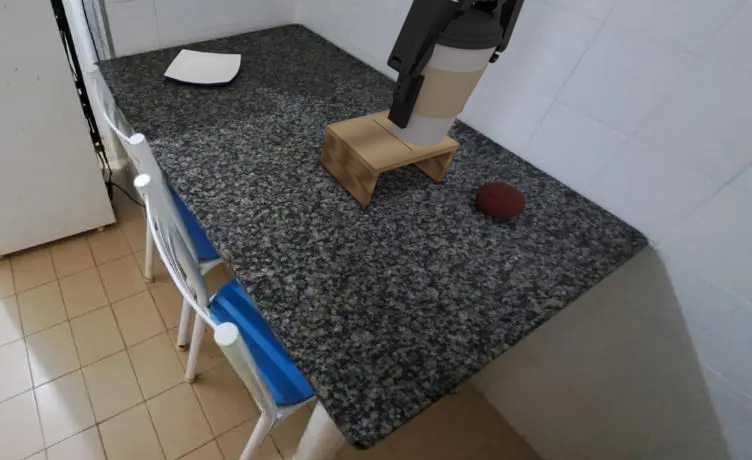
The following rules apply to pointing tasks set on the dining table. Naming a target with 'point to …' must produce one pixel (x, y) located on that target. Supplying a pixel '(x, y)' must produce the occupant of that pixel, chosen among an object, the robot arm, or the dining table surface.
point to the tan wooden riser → (377, 153)
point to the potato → (500, 200)
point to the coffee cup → (451, 75)
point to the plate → (203, 68)
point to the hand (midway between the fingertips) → (424, 115)
